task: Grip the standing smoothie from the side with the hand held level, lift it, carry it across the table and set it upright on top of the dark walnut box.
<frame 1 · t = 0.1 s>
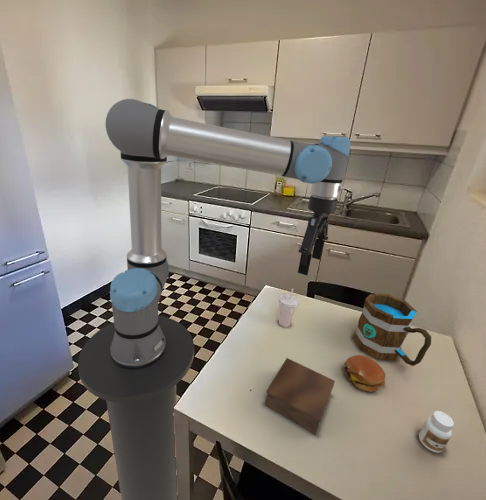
hand: (309, 265, 85), 23 cm above the table, tool pointing down, fingers open, 13 cm apart
burger: (362, 378, 75), on the table
mug: (384, 352, 85), on the table
pill bottle: (430, 443, 60), on the table
walnut box: (298, 400, 68), on the table
smoothie: (284, 323, 95), on the table
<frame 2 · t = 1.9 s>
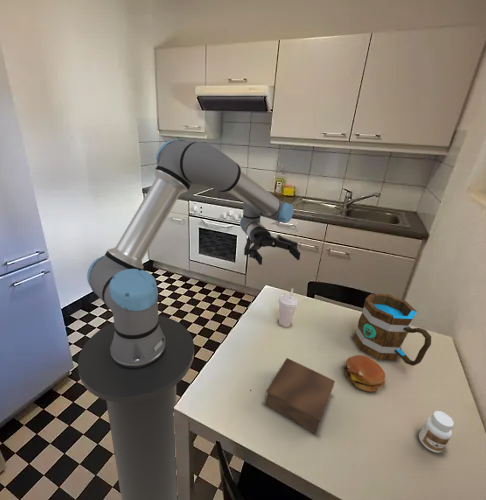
hand: (280, 258, 93), 21 cm above the table, tool horizontal, fingers open, 13 cm apart
nothing on the table moved.
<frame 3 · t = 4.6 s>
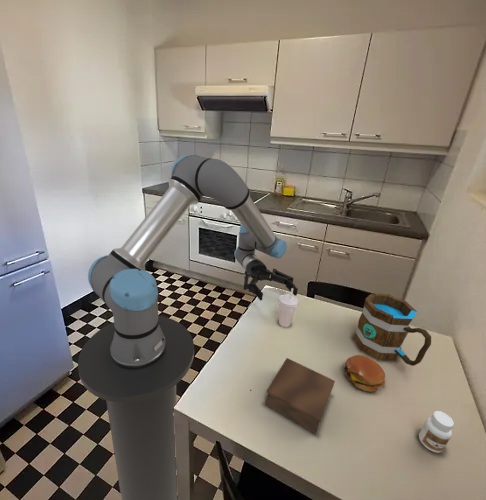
hand: (279, 294, 97), 8 cm above the table, tool horizontal, fingers open, 13 cm apart
nothing on the table moved.
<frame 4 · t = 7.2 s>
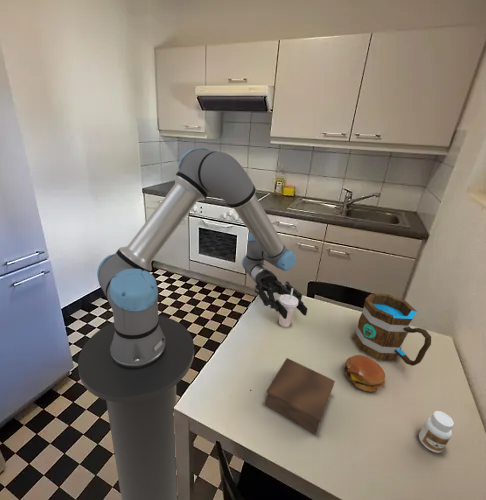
hand: (295, 313, 87), 8 cm above the table, tool horizontal, fingers closed on smoothie, 6 cm apart
smoothie: (284, 323, 95), on the table, touching gripper
everything else where it was.
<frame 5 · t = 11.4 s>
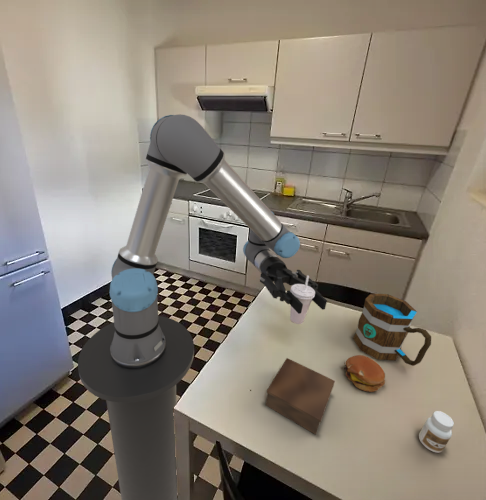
hand: (312, 306, 70), 20 cm above the table, tool horizontal, fingers closed on smoothie, 6 cm apart
smoothie: (296, 320, 77), point 12 cm above the table, touching gripper
everything else where it was.
when the fingers open (13 cm above the table, at t = 15.8 s): smoothie stays where it is, resting on walnut box.
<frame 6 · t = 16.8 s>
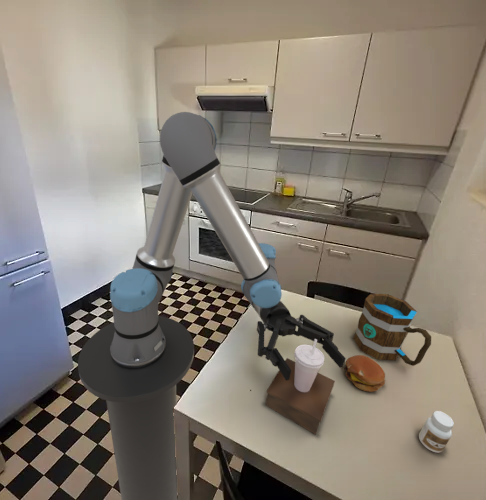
hand: (316, 369, 59), 13 cm above the table, tool horizontal, fingers open, 13 cm apart
smoothie: (301, 386, 66), point 5 cm above the table, touching walnut box
everything else where it was.
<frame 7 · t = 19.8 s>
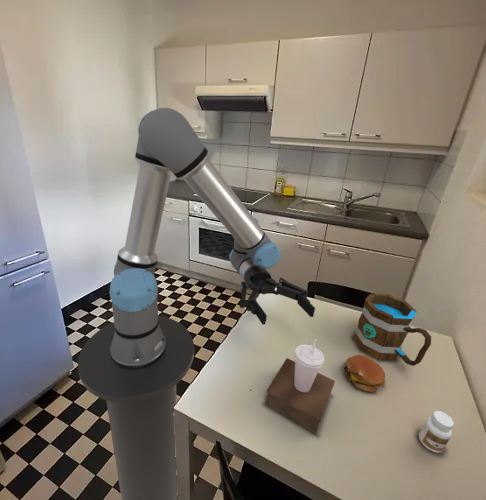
hand: (289, 316, 69), 18 cm above the table, tool horizontal, fingers open, 13 cm apart
nothing on the table moved.
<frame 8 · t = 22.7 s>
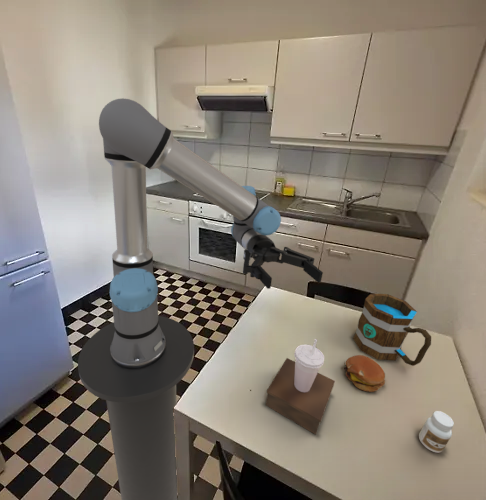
hand: (296, 280, 65), 28 cm above the table, tool horizontal, fingers open, 13 cm apart
nothing on the table moved.
at the end: smoothie inside the target area on the walnut box (0.0 cm from its centre), point 4.8 cm above the walnut box's base; smoothie tilted 0°; the gripper is holding nothing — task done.
